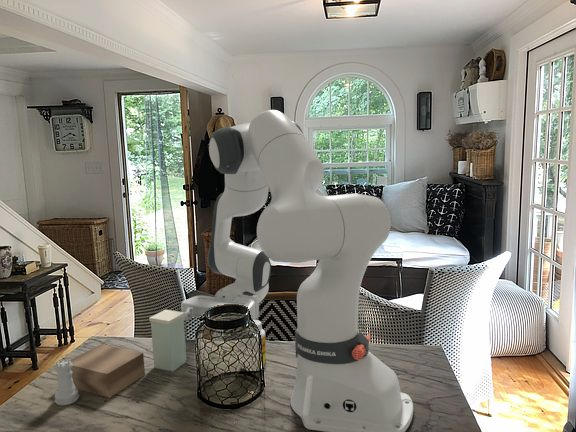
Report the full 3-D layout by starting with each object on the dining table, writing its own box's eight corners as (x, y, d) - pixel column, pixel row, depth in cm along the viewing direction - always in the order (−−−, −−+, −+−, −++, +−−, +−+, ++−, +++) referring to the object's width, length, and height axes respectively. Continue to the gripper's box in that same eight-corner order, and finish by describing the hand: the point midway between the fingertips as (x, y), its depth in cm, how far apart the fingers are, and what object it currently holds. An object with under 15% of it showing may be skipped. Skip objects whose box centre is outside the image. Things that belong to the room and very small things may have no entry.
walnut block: (144, 374, 101) (143, 352, 100) (109, 397, 92) (107, 374, 91) (103, 364, 106) (101, 343, 105) (66, 385, 97) (63, 363, 96)
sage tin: (187, 361, 107) (184, 312, 105) (172, 372, 102) (168, 321, 100) (168, 357, 109) (165, 309, 107) (152, 367, 104) (149, 317, 102)
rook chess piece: (49, 405, 90) (45, 366, 88) (63, 393, 94) (59, 356, 93) (71, 407, 89) (67, 367, 88) (84, 394, 93) (80, 357, 92)
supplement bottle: (252, 375, 99) (250, 329, 98) (235, 367, 103) (233, 323, 102) (271, 366, 103) (270, 322, 102) (255, 358, 107) (253, 316, 106)
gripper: (198, 287, 131) (166, 302, 119) (263, 295, 123) (235, 313, 110) (199, 308, 132) (167, 326, 120) (263, 318, 124) (236, 338, 111)
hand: (200, 320), depth 115 cm, fingers open, 8 cm apart
